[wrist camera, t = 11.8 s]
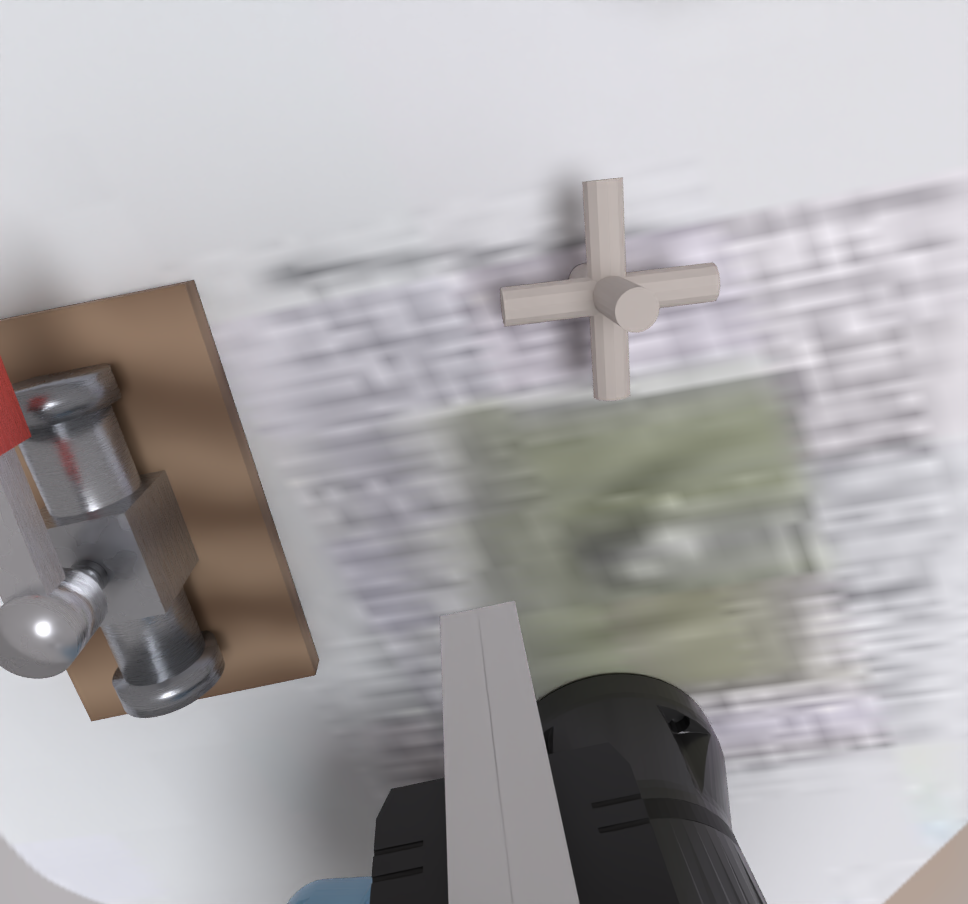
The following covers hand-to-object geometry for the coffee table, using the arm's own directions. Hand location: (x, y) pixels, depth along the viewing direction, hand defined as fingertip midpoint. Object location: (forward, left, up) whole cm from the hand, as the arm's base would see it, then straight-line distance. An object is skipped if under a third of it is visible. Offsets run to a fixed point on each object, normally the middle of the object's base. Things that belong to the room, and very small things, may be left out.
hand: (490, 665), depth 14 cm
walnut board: (-5, +19, -26) cm, 33 cm away
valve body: (-5, +19, -26) cm, 33 cm away
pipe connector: (+3, -8, -27) cm, 28 cm away
